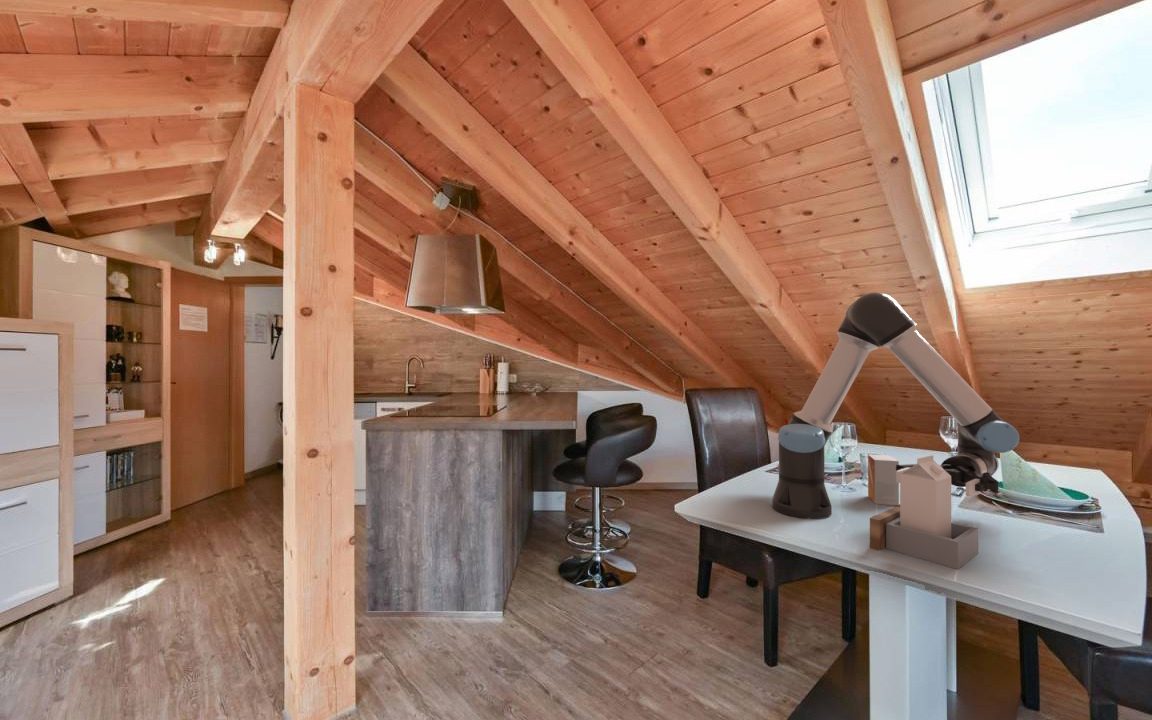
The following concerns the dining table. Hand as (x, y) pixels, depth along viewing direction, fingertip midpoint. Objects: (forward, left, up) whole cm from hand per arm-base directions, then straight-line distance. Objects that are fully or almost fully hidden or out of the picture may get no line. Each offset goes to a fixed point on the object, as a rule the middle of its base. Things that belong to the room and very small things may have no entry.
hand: (930, 482), depth 110 cm
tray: (-2, -6, -14) cm, 15 cm away
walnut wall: (-8, -1, -14) cm, 16 cm away
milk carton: (-3, -5, -12) cm, 14 cm away
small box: (0, +34, -14) cm, 37 cm away
